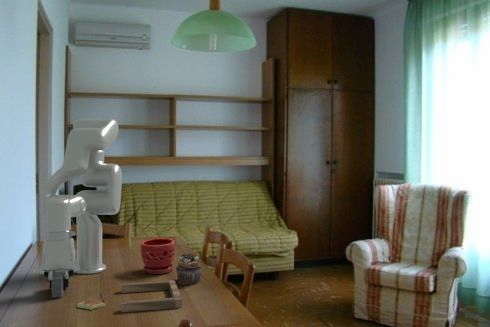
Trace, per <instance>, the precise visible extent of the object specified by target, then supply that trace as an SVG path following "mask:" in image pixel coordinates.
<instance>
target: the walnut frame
mask: <svg viewBox="0 0 490 327" xmlns="http://www.w3.org/2000/svg"><path fill="white" fill-rule="evenodd" d="M154 291H169V292H170V293H169V294H170V295H171V297H167V298H166V297H165V298H155V299H154V298H153V299H141V300H128V301H121V302H120V312H121V313H131V312H143V311H154V310H167V309H168V310H169V309H177V308H178V309H180V308H183V298H182V295H181V294H180V291H179V288H178V286H177V283H176V281H175V279H174V280H173V279H172V280H159V281H146V282H143V281H142V282H129V283H121V284H120V294H126V293H140V292H154Z"/></svg>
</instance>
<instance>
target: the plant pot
mask: <svg viewBox="0 0 490 327" xmlns="http://www.w3.org/2000/svg"><path fill="white" fill-rule="evenodd" d="M175 249H176V245H175V240H174V239H171V238H164V237H161V238H151V239H146V240H144V241H142V242H140V252H141V254H140V255H141V259H142V263H143V264H144V266H143V270H144V271H145V273H147V274H152V275H162V274H166V273H169V272H171V271H172V270H174V267H175V266H174V264H173V262H174V261H173V260H174V259H175Z"/></svg>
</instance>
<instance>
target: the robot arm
mask: <svg viewBox="0 0 490 327" xmlns="http://www.w3.org/2000/svg"><path fill="white" fill-rule="evenodd" d="M72 126H73V127H72V130H70V132H69V133H68V136H67V142H66V146H65V152H64V157H63V162H62V165H61V167H60V168H59V169H57V170H56V171H55V172H54V173H53V174H52V175H51V176H50V177H49V179H48V181H47V182H46V183H45V185H44V190H43V194H42V199H41V211H42V213H43V214H44V215H45V216H46V217H45V219H46V221H45V222H46V223H45V224H46V225H45V226H46V227H45V228H46V229H45V231H46V234H45V235H46V239H44V241H43V245H42V246H43V247H42V254H41V255H42V258H41V259H42V260H41V264H40V265H39V267H38V269H37V273H38V274H40V275H43V276H45V277H46V279H48V280H49V289H50V290H52V277H53V275H54V273H55V271H56V270H64V274H65V276H64V280H63V286H64V292H66V291H67V288H69V286H70V285H69V282H70V281H69V278H70V277H71V276H72V275H73V274H74V273H75V274H80V275H87V274H88V275H89V274H96V273H102V272H104V271H105V270H106V269H107V265H106V264H104V263H103V224H102V221H101V220H100V218H99V217H98V215H101V216H102V215H103V216H106V215H109V216H112V215H116V214H118V213H119V211H120V209H121V203H122V202H121V200H122V188H123V185H122V184H123V173H122V172H123V171H122V169H121V167H120V165H118V164H116V163H105V151H107V150H108V149H109V147H111V145H112V144H113V142H115V140H116V139H117V137H118V135H119V123H118V122H117V121H116V120H115V119H113V118H104V117H103V118H101V117H100V118H96V117H94V118H93V117H86V118H85V117H84V118H78V119H75V121H73V124H72ZM78 176H80V183H81V184H82V185H83V186H85V187H87V188H88V187H89V188H107V190H97V189H93V190H92V189H91V190H90V189H88V190H87V189H86V190H81V191H79V192H76V194H75V195H74V194H72V195H71V194H57V191H58V190H59V188H60V187H61V186H62V185H63V184H65V183H66V182H67V181H70V180H72V179H74V178H76V177H78ZM71 218H76V219H75V220H76V231H73V230H72V225H71V224H72V222H71V220H72V219H71ZM73 236H76V243H75V239H74V238H73ZM75 244H76V246H75Z"/></svg>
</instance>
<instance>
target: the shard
mask: <svg viewBox="0 0 490 327" xmlns="http://www.w3.org/2000/svg"><path fill="white" fill-rule="evenodd" d="M106 305H107V303H106V301H105V298H104V296H103V295H102V293H101V292H100V293H98V294H97V295H94V296H91V297H89V298H86V299H83V300H82V301H80V302H79V303H77V308H80V309H81V308H82V309H86V310H91V311H92V310H94V309H99V308H103V307H106Z"/></svg>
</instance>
